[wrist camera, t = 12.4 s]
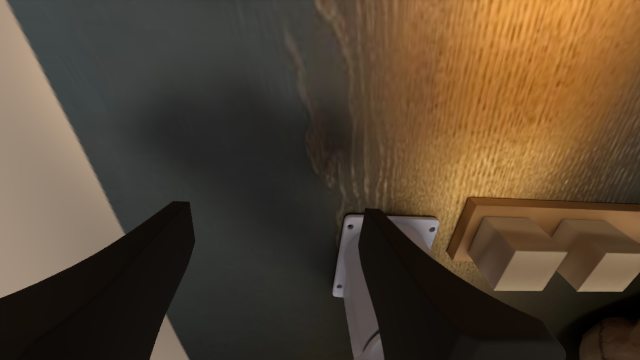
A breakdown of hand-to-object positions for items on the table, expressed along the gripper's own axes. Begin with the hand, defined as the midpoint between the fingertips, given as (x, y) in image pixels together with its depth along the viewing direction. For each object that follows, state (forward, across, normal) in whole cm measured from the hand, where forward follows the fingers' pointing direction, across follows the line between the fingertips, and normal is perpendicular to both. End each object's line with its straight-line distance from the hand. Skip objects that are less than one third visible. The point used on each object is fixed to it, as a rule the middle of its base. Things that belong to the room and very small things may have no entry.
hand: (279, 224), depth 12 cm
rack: (+9, -25, +7) cm, 28 cm away
